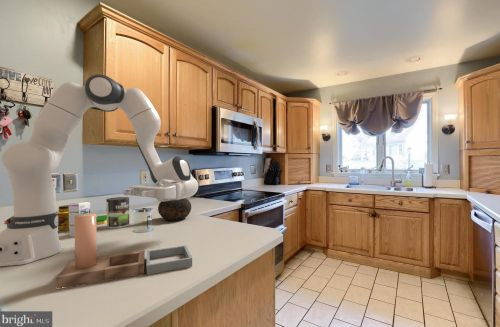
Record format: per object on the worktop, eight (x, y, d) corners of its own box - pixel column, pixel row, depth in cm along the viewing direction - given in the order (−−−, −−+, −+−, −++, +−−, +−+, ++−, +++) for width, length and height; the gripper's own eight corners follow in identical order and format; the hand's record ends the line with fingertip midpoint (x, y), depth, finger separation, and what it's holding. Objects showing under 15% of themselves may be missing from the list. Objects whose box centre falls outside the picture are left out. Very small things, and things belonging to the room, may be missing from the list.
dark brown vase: (195, 215, 144) (194, 168, 144) (184, 223, 126) (183, 169, 126) (167, 215, 146) (166, 169, 146) (152, 222, 128) (151, 170, 128)
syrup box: (80, 237, 104) (79, 203, 104) (68, 236, 105) (68, 203, 105) (91, 233, 110) (90, 201, 110) (80, 232, 111) (79, 201, 111)
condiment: (54, 233, 110) (54, 207, 110) (60, 229, 118) (60, 204, 118) (73, 231, 113) (73, 206, 113) (78, 227, 121) (78, 203, 121)
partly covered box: (56, 289, 60) (56, 277, 60) (69, 271, 70) (69, 261, 70) (144, 273, 68) (143, 263, 68) (144, 259, 78) (144, 250, 78)
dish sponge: (89, 225, 125) (89, 221, 125) (98, 219, 139) (98, 215, 139) (104, 224, 127) (104, 219, 127) (111, 218, 141) (111, 214, 141)
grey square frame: (146, 274, 67) (146, 265, 67) (147, 258, 79) (146, 250, 79) (192, 266, 72) (192, 258, 72) (186, 252, 84) (186, 245, 84)
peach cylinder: (71, 266, 66) (70, 216, 66) (91, 260, 70) (90, 212, 70) (81, 270, 64) (80, 217, 64) (100, 263, 68) (99, 214, 68)
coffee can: (133, 224, 124) (133, 197, 124) (113, 229, 115) (113, 200, 115) (122, 222, 129) (122, 196, 129) (102, 227, 120) (102, 199, 120)
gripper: (148, 181, 100) (115, 183, 89) (183, 183, 90) (151, 185, 78) (147, 196, 100) (115, 200, 88) (183, 200, 90) (151, 205, 78)
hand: (132, 193), depth 83 cm, fingers open, 8 cm apart
